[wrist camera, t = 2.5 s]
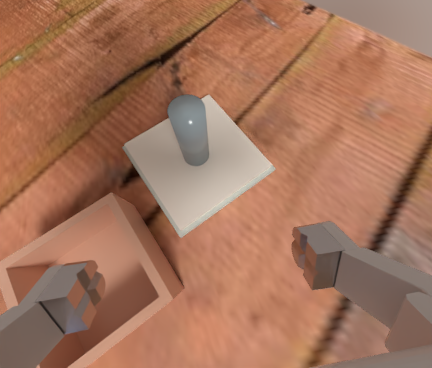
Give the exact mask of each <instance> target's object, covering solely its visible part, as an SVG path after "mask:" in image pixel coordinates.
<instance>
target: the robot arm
mask: <svg viewBox="0 0 432 368" xmlns="http://www.w3.org/2000/svg"><path fill="white" fill-rule="evenodd" d="M292 235H293V237H294V238H295V240H294V241H293V242H292V254H293V257H294V260H295V262H296V264H297V266H298V267H300V268H302V269H303V270H304V273H303V276H304V278H305V279H306V281H307V283H308V284H309V286H310V288H311V289H312V290H318V289H325V288H331V287H334V289H336V290H337V291H339V292H340V293H341V294H343V295H344V296H346V297H347V298H348V299H350V300H351V301H352V302H354V303H355V304H357V305H358V306H359V307H361V308H362V309H363V310H365V311H366V312H368V313H369V314H370V315H372V316H373V317H375V318H376V319H377V320H379V321H380V322H381V323H383V324H384V325H386V326H387V327H388V328H390V331H389V334H388V336H387V338H386V340H385V346H386V348H387V349H388V350H389V353H384V354H379V355H374V356H368V357H363V358H358V359H353V360H347V361H342V362H337V363H332V364H326V365H321V366H316V367H311V368H432V276H431V275H429V274H427V273H424V272H422V271H419V270H417V269H415V268H412V267H410V266H407V265H405V264H403V263H400V262H398V261H395V260H393V259H390V258H388V257H386V256H383V255H381V254H378V253H376V252H374V251H371V250H369V249H366V248H359V247H358V246H357V245H356V244H355V243H354V242H353V241H352V240H351V239H350V238H349V237H348V236H347V235H346V234H345V233H344V232H343V231H342V230H341V229H339V228H338V227H337V226H336V225H335V224H334V223H333V222H331V221H326V222H321V223H317V224H311V225H305V226H299V227H294V228H293V232H292ZM97 269H98V265H97V264H96V262H95V261H93V260H88V261H81V262H74V263H66V264H61V265H54V266H52V267H50V268H48V269H47V270H46V272H45V273H44V274H43V275H42V277H41V278H40V279H39V280H38V281H37V283H36V284H35V285H34V286H33V288H32V289H31V290H30V291H29V293H28V294H27V295H26V296H25V297H24V299H23V300H22V301H21V302H20V304H19V305H18V306H13V307H12V308H10V309H9V310H8V311H6V312H5V313H3V314H2V315H0V368H36V367H37V366H38V365H39V364H40V363H41V361H42V360H43V359H44V358H45V357H46V356H47V355H48V354H49V353H50V351H51V350H52V349H53V348H54V347H55V346H56V345H57V344H58V343H59V341H60V340H61V339H62V338H63V337H64V336H65V335H64V334H69V333H74V332H78V331H83V330H88V329H89V328H90V325H91V323H92V321H93V319H94V316H95V314H96V312H97V310H96V307H95V306H96V305H97V304H98V303H99V302H100V301H101V300H102V298H103V295H104V293H105V286H106V284H105V279H104V277H103V275H102V274H101V273H99V272H97Z"/></svg>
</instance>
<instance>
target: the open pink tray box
mask: <svg viewBox="0 0 432 368" xmlns="http://www.w3.org/2000/svg"><path fill="white" fill-rule="evenodd" d="M88 260H93V261H95V262H96V264H97V265H98V269H97V272H99V273H101V274H102V275H103V277H104V279H105V284H106V286H105V293H104V295H103V298H102V300H101V301H100V302H99V303H98V304H97V305H96V306H95V307H96V310H97V312H96V314H95V316H94V319H93V321H92V323H91V325H90V328H89V329H88V330H83V331H78V332H74V333H69V334H64V335H65V336H64V337H63V338H62V339H61V340H60V341H59V343H58V344H57V345H56V346H55V347H54V348H53V349H52V350H51V351H50V353H49V354H48V355H47V356H46V357H45V358H44V359H43V360H42V361H41V363H40V364H39V365H38V366H37V367H36V368H86V367H87V366H89V365H90V364H91V363H92V362H94V361H95V360H96V359H98V358H99V357H100V356H101V355H103V354H104V353H105V352H107V351H108V350H109V349H110V348H112V347H113V346H114V345H116V344H117V343H118V342H119V341H121V340H122V339H123V338H124V337H126V336H127V335H128V334H130V333H131V332H132V331H133V330H135V329H136V328H137V327H139V326H140V325H141V324H142V323H144V322H145V321H146V320H148V319H149V318H150V317H151V316H153V315H154V314H155V313H156V312H158V311H159V310H160V309H162V308H163V307H164V306H165V305H167V304H168V303H169V302H171V301H172V300H173V299H174V298H175V297H176V296H177V295H178V294H179V293H180V292H181V291H182V290H183V289H184V287H183V285H182V283H181V282H180V280H179V278H178V277H177V275H176V274H175V272H174V270H173V269H172V267H171V265H170V264H169V262H168V260H167V259H166V257H165V255H164V254H163V252H162V250H161V249H160V247H159V245H158V244H157V242H156V240H155V239H154V237H153V235H152V234H151V232H150V230H149V229H148V227H147V225H146V224H145V222H144V220H143V219H142V217H141V216H140V214H139V212H138V211H137V209H136V207H135V206H134V205H133V204H131V203H129V202H128V201H126V200H124V199H122V198H121V197H119V196H117V195H116V194H114V193H112V192H111V193H109V194H108V195H106V196H104V197H103V198H101V199H100V200H98V201H96V202H95V203H93V204H92V205H90V206H88V207H87V208H85V209H84V210H82V211H80V212H79V213H77V214H76V215H74V216H72V217H71V218H69V219H68V220H66V221H64V222H63V223H61V224H60V225H58V226H56V227H55V228H53V229H52V230H50V231H48V232H47V233H45V234H44V235H42V236H40V237H39V238H37V239H36V240H34V241H32V242H31V243H29V244H28V245H26V246H24V247H23V248H21V249H20V250H18V251H16V252H15V253H13V254H12V255H10V256H8V257H7V258H5V259H4V260H2V261H0V288H1V291H2V294H3V297H4V300H5V303H6V306H7V309H8V310H9V309H10V308H12V307H13V306H18V305H19V304H20V302H21V301H22V300H23V299H24V297H25V296H26V295H27V294H28V293H29V291H30V290H31V289H32V288H33V286H34V285H35V284H36V283H37V281H38V280H39V279H40V278H41V277H42V275H43V274H44V273H45V272H46V270H47V269H48V268H50V267H52V266H54V265H61V264H66V263H74V262H81V261H88Z"/></svg>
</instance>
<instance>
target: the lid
mask: <svg viewBox="0 0 432 368" xmlns="http://www.w3.org/2000/svg"><path fill="white" fill-rule="evenodd" d="M167 112H168V116H169V118H168V119H166V120H164V121H162V122H161V123H159V124H157V125H156V126H154V127H152V128H150V129H149V130H147V131H145V132H144V133H142V134H140V135H138V136H137V137H135V138H133V139H132V140H130V141H128V142H126V143H125V144H124V145H125V147H126V148H127V150H128V151H129V153H130V154H131V156H132V157H133V159H134V160H135V162H136V164H137V165H138V167H139V168H140V170H141V171H142V173H143V174H144V176H145V177H146V179H147V180H148V182H149V183H150V185H151V186H152V188H153V190H154V191H155V193H156V194H157V196H158V197H159V199H160V200H161V202H162V203H163V205H164V206H165V208H166V209H167V211H168V213H169V214H170V216H171V217H172V219H173V220H174V222H175V223H176V225H177V226H178V228H179V229H180V230H181V231H183V230H184V229H185V228H187V227H188V226H190V225H191V224H192V223H194V222H195V221H197V220H198V219H199V218H201V217H202V216H204V215H205V214H206V213H208V212H209V211H211V210H212V209H213V208H215V207H216V206H218V205H219V204H220V203H222V202H223V201H225V200H226V199H227V198H229V197H230V196H232V195H233V194H234V193H236V192H237V191H239V190H240V189H241V188H243V187H244V186H246V185H247V184H248V183H250V182H251V181H253V180H254V179H255V178H257V177H258V176H260V175H261V174H262V173H264V172H265V171H267V170H268V169H269V168H270V167H271V166H272V164H271V163H270V162H269V161H268V160H267V158H266V157H265V156H264V155H263V154H262V153H261V152H260V151H259V150H258V148H257V147H256V146H255V145H254V144H253V143H252V142H251V141H250V140H249V138H248V137H247V136H246V135H245V134H244V133H243V132H242V131H241V130H240V128H239V127H238V126H237V125H236V124H235V123H234V122H233V121H232V120H231V118H230V117H229V116H228V115H227V114H226V113H225V112H224V111H223V109H222V108H221V107H220V106H219V105H218V104H217V103H216V102H215V101H214V99H213V98H212V97H211V96H210V95H207V96H205V97H204V98H202V99H200V98H198V97H196V96H193V95H181V96H178V97H176V98H175V99H174V100H172V101H171V103H170V104H169V106H168V111H167Z"/></svg>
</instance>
